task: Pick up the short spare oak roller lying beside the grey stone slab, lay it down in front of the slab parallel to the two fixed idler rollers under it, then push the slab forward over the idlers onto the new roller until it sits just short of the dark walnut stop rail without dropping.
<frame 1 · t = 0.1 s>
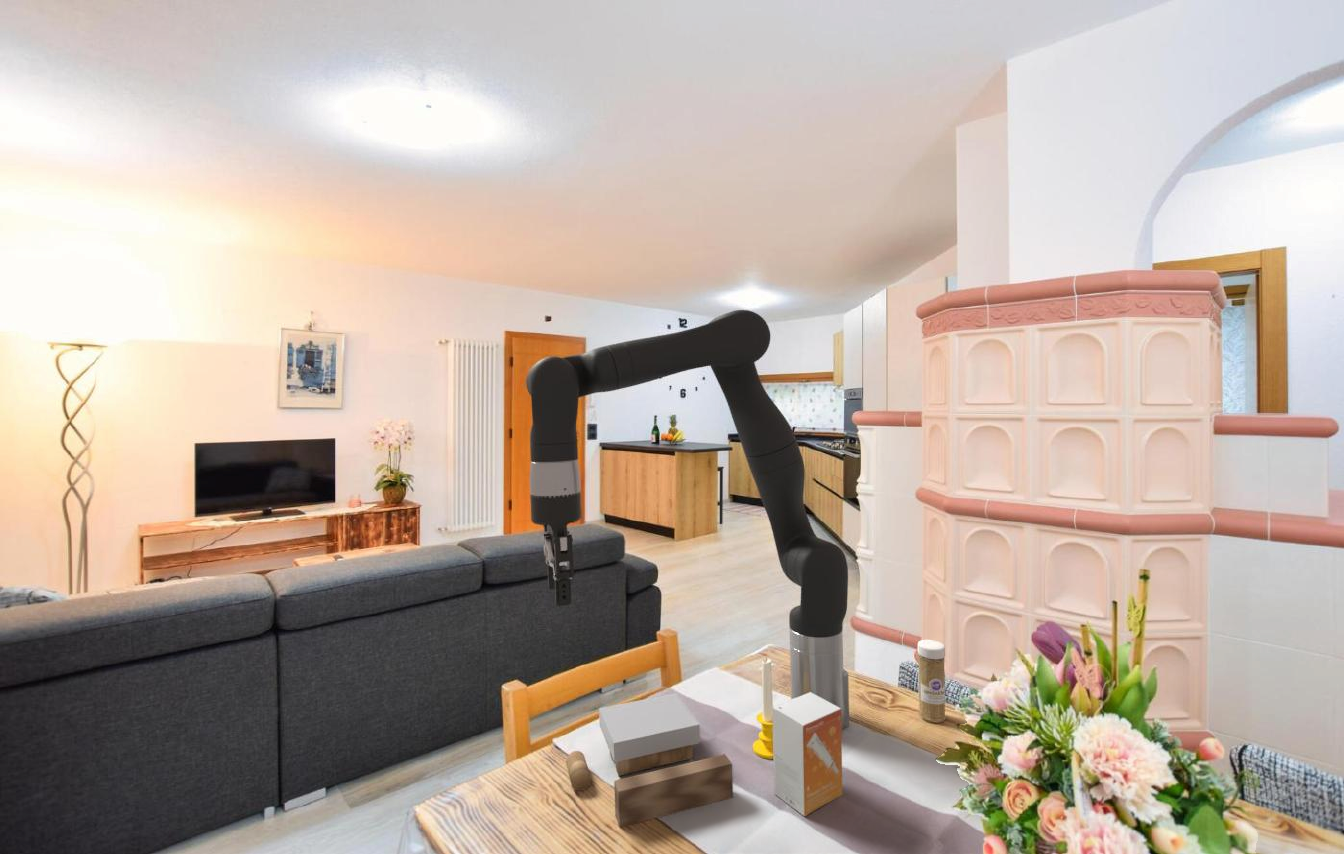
hand: (559, 596, 88), 29 cm above the table, tool pointing down, fingers open, 8 cm apart
roller a: (646, 749, 97), on the table
slab: (648, 733, 95), point 3 cm above the table, touching roller a, roller b
candle: (768, 750, 96), on the table
sprinkles bottle: (932, 718, 104), on the table
roller b: (654, 765, 93), on the table
stop rail: (675, 805, 83), on the table
roller c: (578, 779, 90), on the table
small box: (808, 796, 85), on the table
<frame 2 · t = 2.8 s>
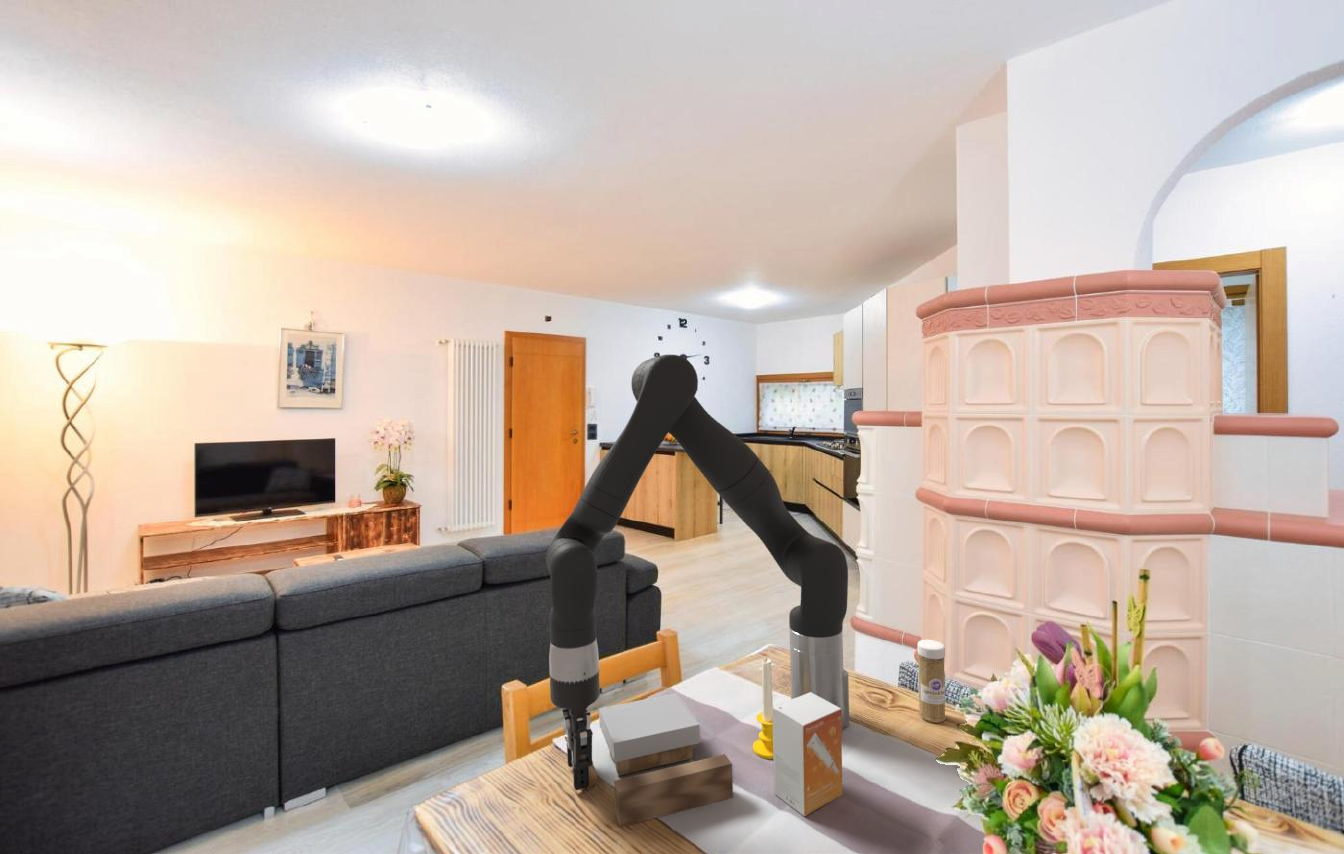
hand: (578, 775, 90), 1 cm above the table, tool pointing down, fingers closed on roller c, 5 cm apart
roller c: (578, 777, 90), on the table, tilted 40°, touching gripper
everything else where it was.
when the fingers open (1 cm above the table, at t = 8.1 s): roller c stays where it is, on the table.
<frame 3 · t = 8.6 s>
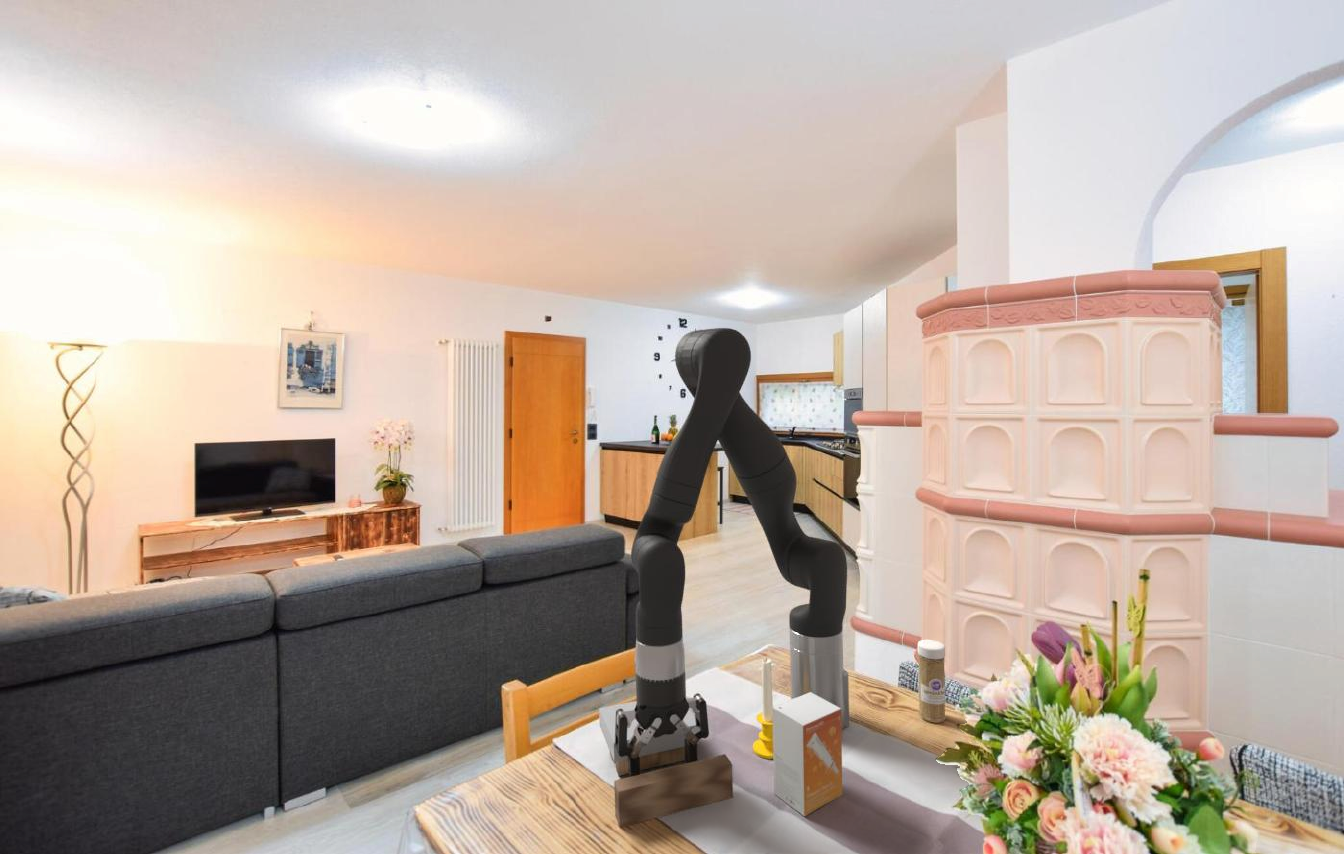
hand: (663, 771, 88), 2 cm above the table, tool pointing down, fingers open, 8 cm apart
roller c: (663, 782, 88), on the table, tilted 45°
everything else where it was.
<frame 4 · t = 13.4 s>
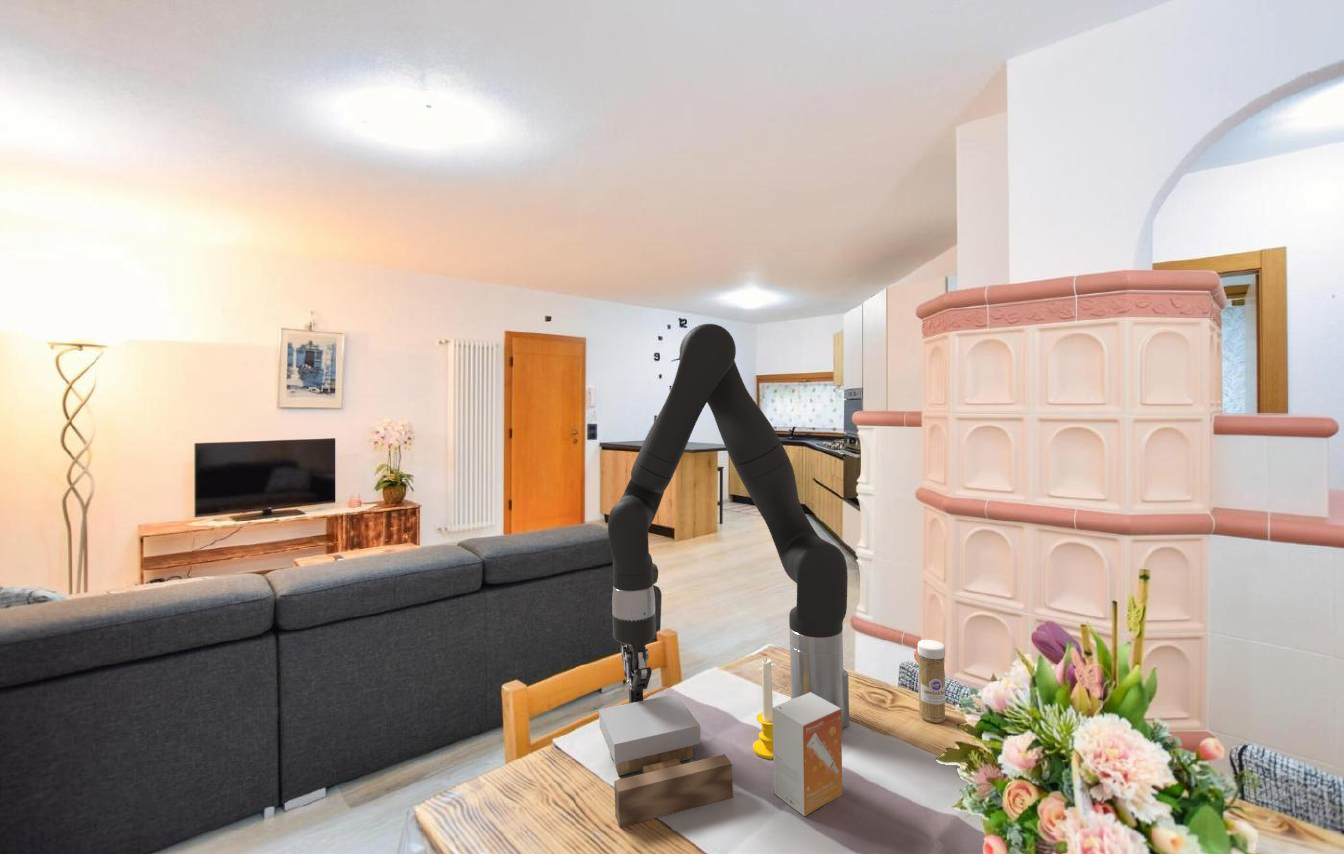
hand: (636, 707, 102), 5 cm above the table, tool pointing down, fingers closed
roller c: (663, 784, 88), on the table, tilted 19°
everything else where it was.
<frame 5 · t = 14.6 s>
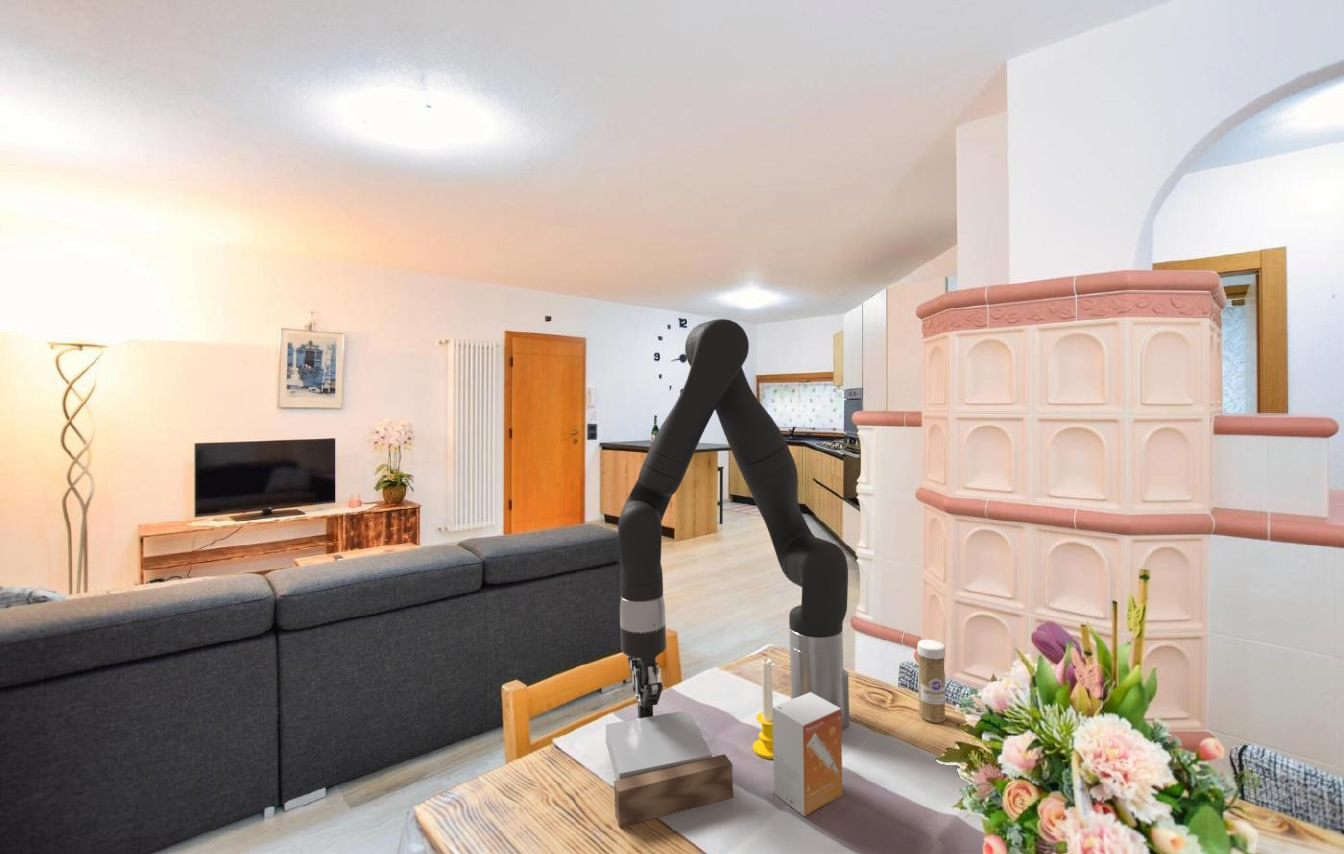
hand: (645, 723, 97), 5 cm above the table, tool pointing down, fingers closed
slab: (656, 756, 90), point 3 cm above the table, tilted 7°, touching gripper, roller b, roller c, stop rail
roller c: (661, 783, 88), on the table, touching slab
everything else where it was.
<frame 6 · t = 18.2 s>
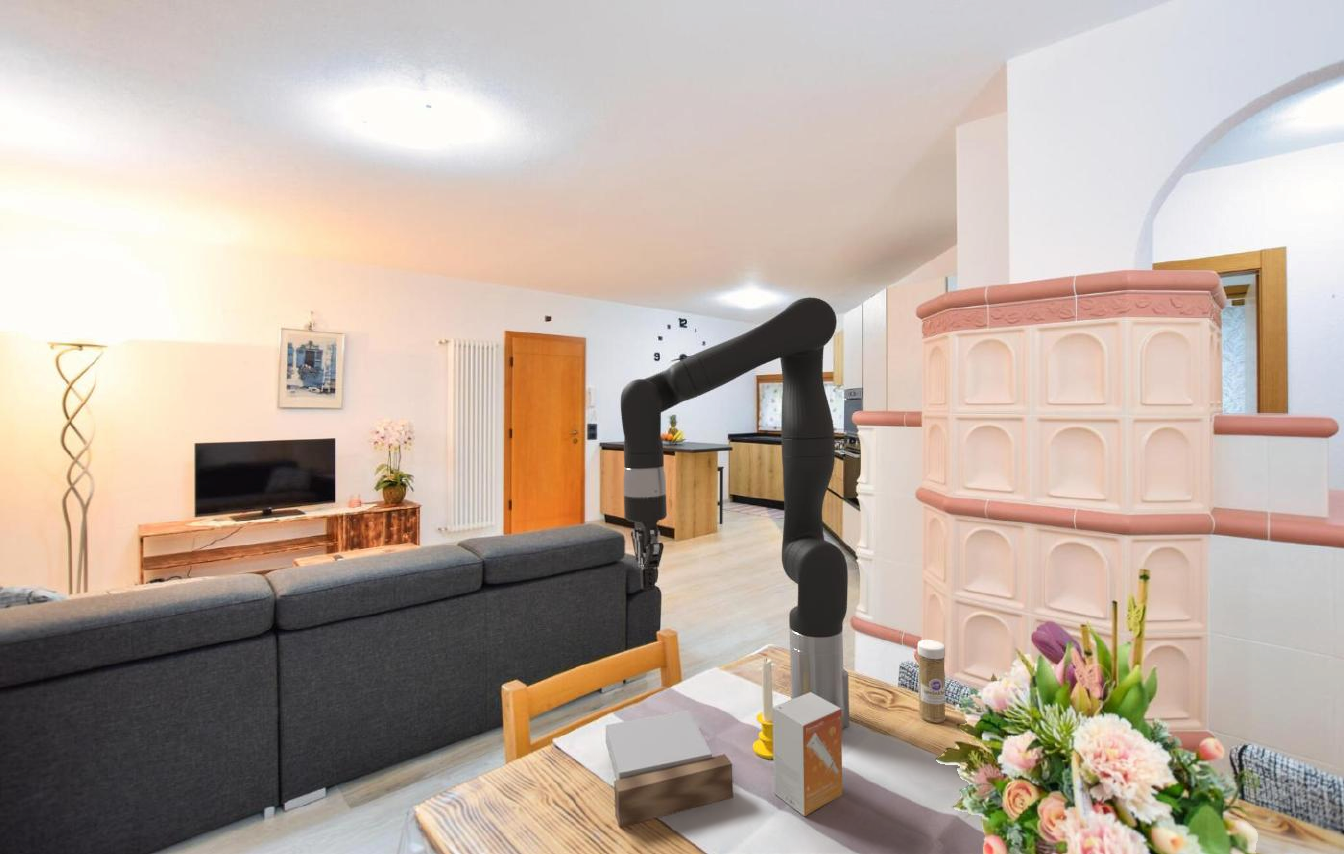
hand: (647, 588, 103), 25 cm above the table, tool pointing down, fingers closed
slab: (656, 756, 90), point 3 cm above the table, tilted 6°, touching roller b, roller c
roller c: (661, 783, 88), on the table, tilted 12°, touching slab
everything else where it was.
at the end: slab inside the target area (0.5 cm from its centre), point 3.2 cm above the table; slab tilted 6°; roller c inside the target area under the slab (2.3 cm from its centre), point -3.2 cm above the slab's base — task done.
